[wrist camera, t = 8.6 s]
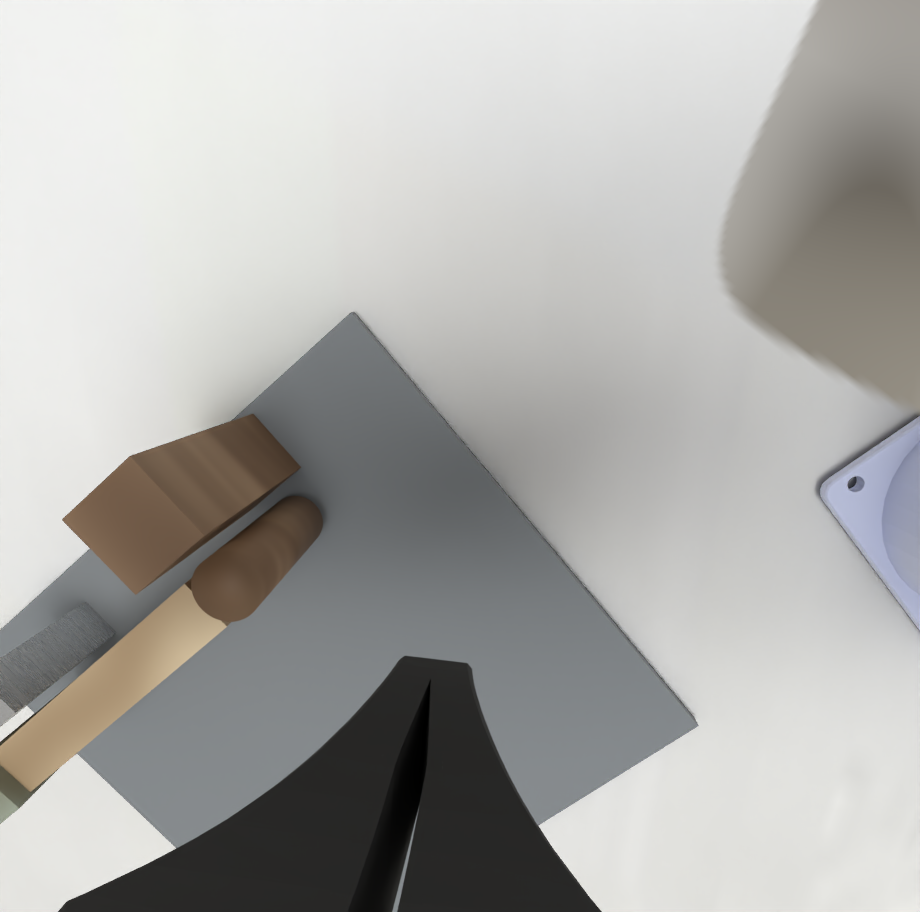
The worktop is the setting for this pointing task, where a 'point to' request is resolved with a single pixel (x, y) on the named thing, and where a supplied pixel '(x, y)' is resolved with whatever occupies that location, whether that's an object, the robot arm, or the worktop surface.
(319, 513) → the gate
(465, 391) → the worktop surface
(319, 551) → the mat
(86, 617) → the post
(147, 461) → the hinge post
